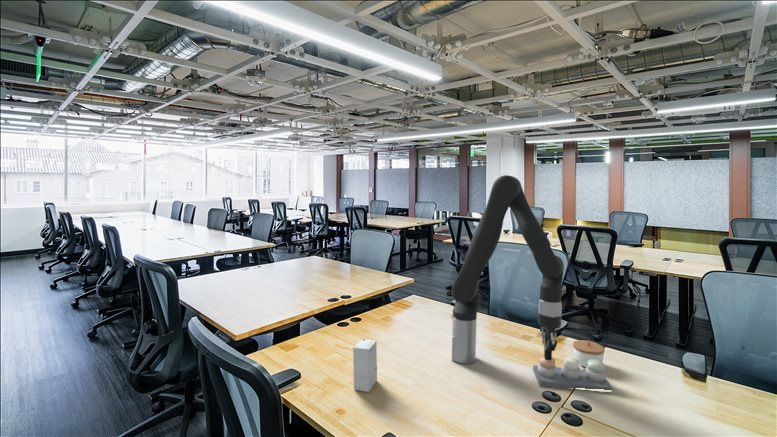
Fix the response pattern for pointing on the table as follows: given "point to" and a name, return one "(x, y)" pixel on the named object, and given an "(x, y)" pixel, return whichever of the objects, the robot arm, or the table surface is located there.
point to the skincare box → (365, 365)
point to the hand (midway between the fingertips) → (547, 359)
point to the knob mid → (571, 364)
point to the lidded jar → (587, 351)
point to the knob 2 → (595, 366)
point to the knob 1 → (547, 363)
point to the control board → (569, 382)
